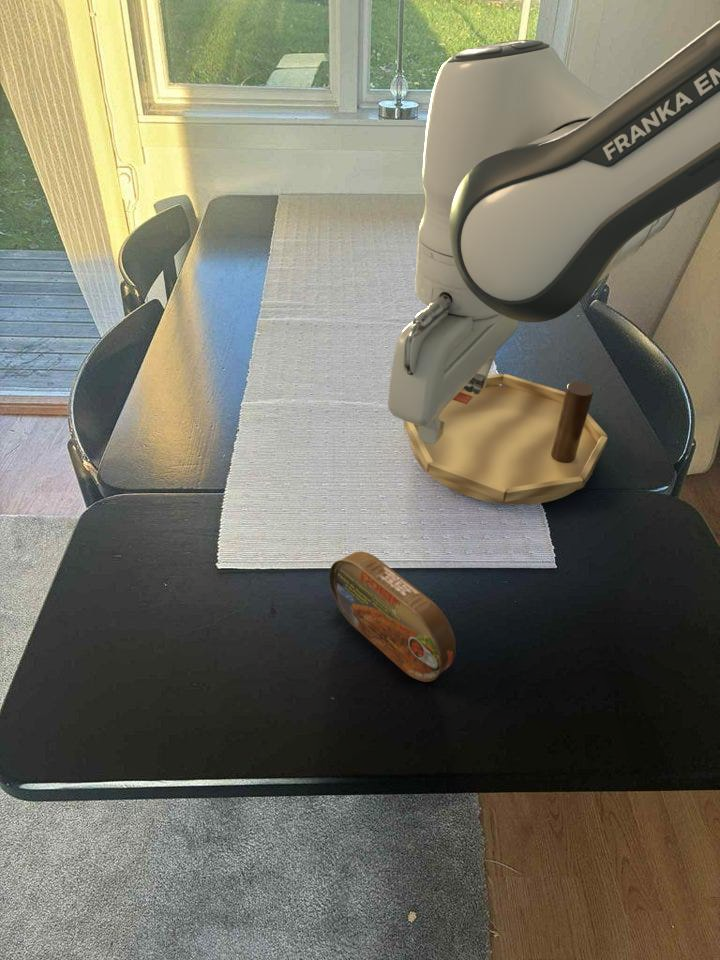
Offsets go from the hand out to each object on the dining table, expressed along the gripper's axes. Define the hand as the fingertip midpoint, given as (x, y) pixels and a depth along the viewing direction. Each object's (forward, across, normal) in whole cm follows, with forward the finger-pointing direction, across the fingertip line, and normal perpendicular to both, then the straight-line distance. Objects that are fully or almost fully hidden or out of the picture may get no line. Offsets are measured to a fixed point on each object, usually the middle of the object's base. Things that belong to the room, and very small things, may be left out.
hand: (453, 413), depth 66 cm
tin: (+19, -13, -1) cm, 23 cm away
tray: (+18, +21, +1) cm, 27 cm away
